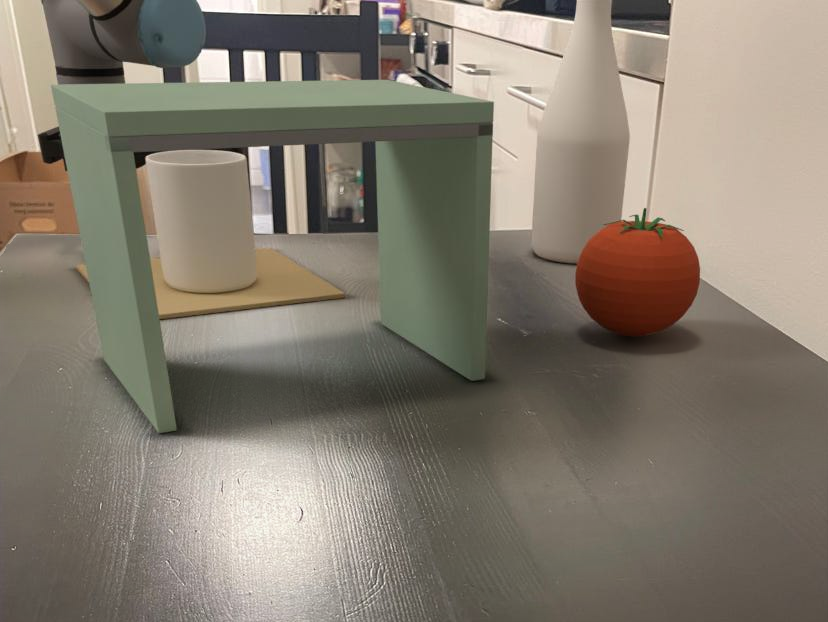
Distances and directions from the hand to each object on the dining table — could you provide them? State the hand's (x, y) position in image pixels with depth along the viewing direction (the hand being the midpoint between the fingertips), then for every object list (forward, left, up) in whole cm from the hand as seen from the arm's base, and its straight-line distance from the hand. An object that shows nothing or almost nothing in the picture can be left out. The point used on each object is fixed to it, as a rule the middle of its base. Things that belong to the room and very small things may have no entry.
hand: (165, 155), depth 93 cm
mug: (+7, -6, -10) cm, 13 cm away
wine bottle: (+37, +19, -10) cm, 43 cm away
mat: (+6, -6, -10) cm, 13 cm away
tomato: (+47, -8, -10) cm, 49 cm away
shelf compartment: (+24, -26, -10) cm, 37 cm away
